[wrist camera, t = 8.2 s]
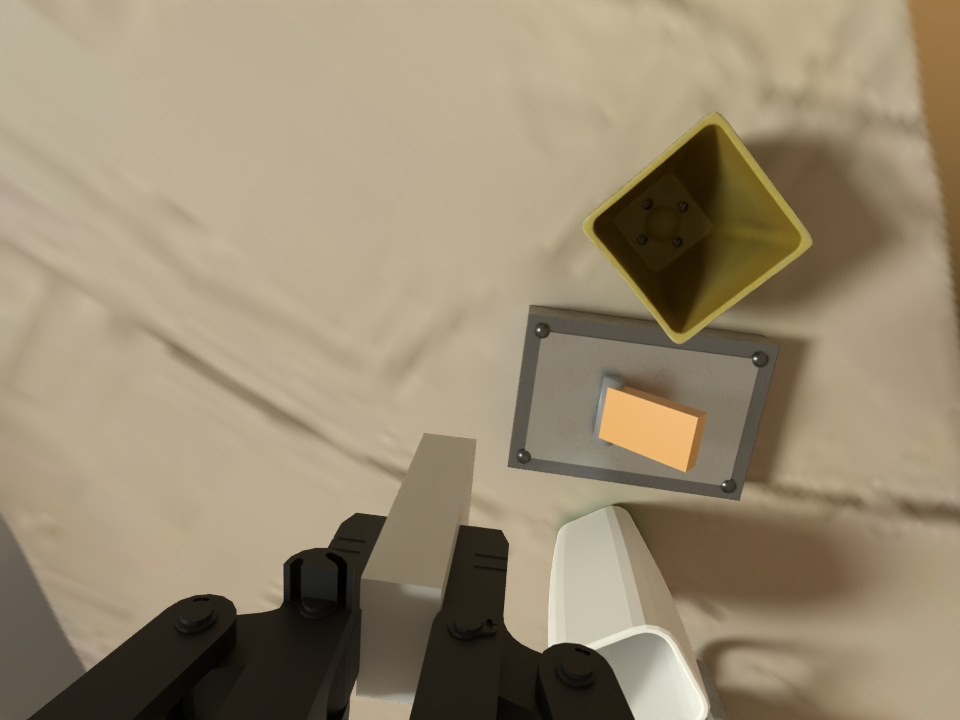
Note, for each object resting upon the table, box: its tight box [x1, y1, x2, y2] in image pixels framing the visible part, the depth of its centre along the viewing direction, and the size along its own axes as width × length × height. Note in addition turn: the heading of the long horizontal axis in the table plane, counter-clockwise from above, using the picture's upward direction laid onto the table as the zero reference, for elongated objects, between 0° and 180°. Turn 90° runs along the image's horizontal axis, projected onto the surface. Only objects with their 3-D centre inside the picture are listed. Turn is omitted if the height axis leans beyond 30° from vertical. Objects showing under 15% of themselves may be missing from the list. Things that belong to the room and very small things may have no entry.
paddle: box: [592, 375, 707, 472], centre depth 39 cm, size 4×1×7 cm
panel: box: [508, 305, 779, 501], centre depth 42 cm, size 11×16×3 cm
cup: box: [548, 506, 710, 720], centre depth 40 cm, size 7×7×15 cm
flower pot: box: [582, 112, 813, 344], centre depth 36 cm, size 9×9×9 cm
